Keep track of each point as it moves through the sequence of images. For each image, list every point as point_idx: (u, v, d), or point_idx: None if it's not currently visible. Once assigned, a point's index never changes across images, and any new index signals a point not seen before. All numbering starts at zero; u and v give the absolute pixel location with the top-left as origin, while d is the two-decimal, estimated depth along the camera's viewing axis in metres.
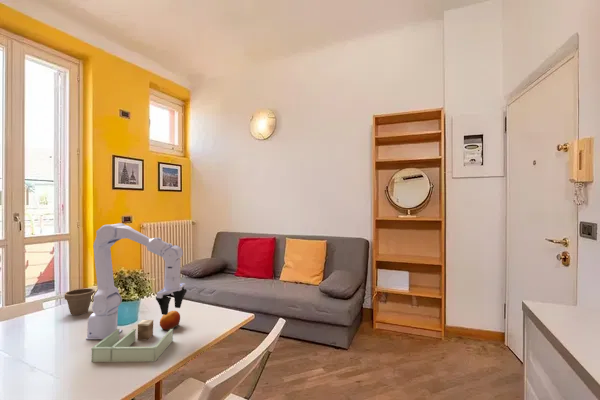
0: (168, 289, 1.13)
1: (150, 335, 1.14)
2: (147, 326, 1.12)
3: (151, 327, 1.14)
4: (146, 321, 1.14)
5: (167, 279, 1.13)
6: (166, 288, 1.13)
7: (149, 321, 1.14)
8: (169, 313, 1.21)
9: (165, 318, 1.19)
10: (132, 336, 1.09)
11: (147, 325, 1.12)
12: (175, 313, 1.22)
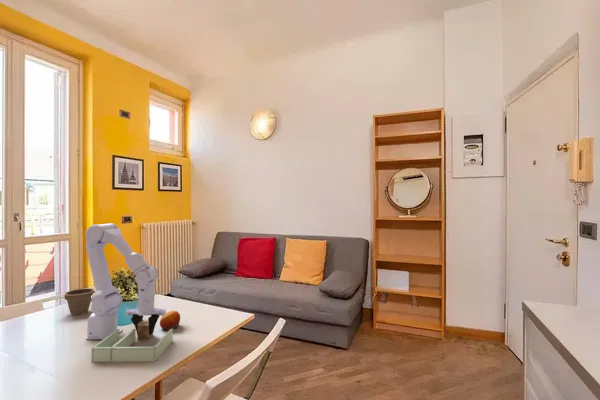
0: (137, 310, 1.13)
1: (150, 335, 1.14)
2: (146, 326, 1.12)
3: None
4: (146, 321, 1.14)
5: None
6: None
7: None
8: (169, 313, 1.21)
9: (165, 318, 1.19)
10: (132, 336, 1.09)
11: (147, 325, 1.12)
12: (175, 313, 1.22)
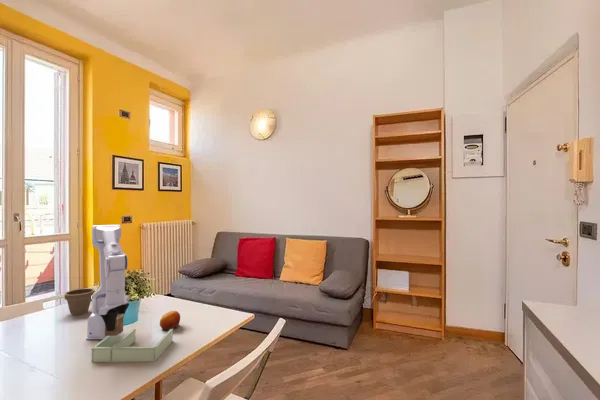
0: (112, 303, 1.00)
1: None
2: (122, 316, 1.04)
3: None
4: None
5: (110, 292, 1.00)
6: (109, 303, 1.00)
7: None
8: (169, 313, 1.21)
9: (165, 318, 1.19)
10: (132, 336, 1.09)
11: (123, 315, 1.04)
12: (175, 313, 1.22)
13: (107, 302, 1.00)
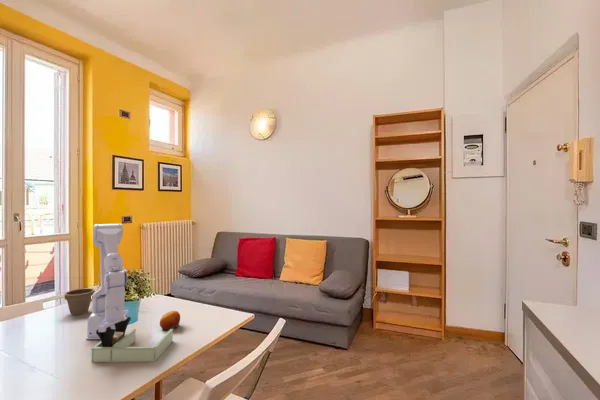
0: (111, 320, 1.00)
1: None
2: (122, 335, 1.04)
3: None
4: None
5: (110, 309, 1.00)
6: (108, 319, 1.00)
7: (114, 333, 1.04)
8: (169, 313, 1.21)
9: (165, 318, 1.19)
10: (132, 336, 1.09)
11: (122, 334, 1.04)
12: (175, 313, 1.22)
13: (106, 318, 1.00)
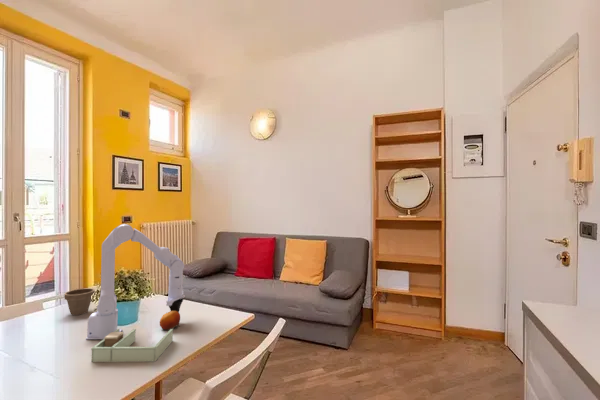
0: (174, 297, 1.26)
1: None
2: (122, 335, 1.04)
3: None
4: (112, 334, 1.03)
5: (173, 288, 1.26)
6: (172, 296, 1.26)
7: (114, 333, 1.04)
8: (169, 313, 1.21)
9: (165, 318, 1.19)
10: (132, 336, 1.09)
11: (122, 334, 1.04)
12: (175, 313, 1.22)
13: (170, 296, 1.26)
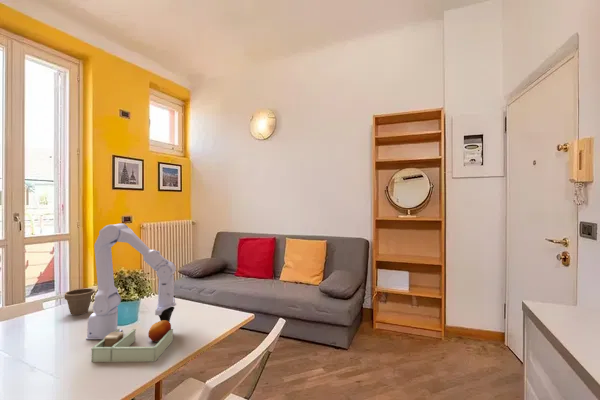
0: (164, 305, 1.15)
1: None
2: (122, 335, 1.04)
3: None
4: (112, 334, 1.03)
5: (163, 296, 1.15)
6: (162, 305, 1.15)
7: (114, 333, 1.04)
8: (159, 323, 1.11)
9: (154, 329, 1.09)
10: (132, 336, 1.09)
11: (122, 334, 1.04)
12: (165, 323, 1.12)
13: (160, 304, 1.15)
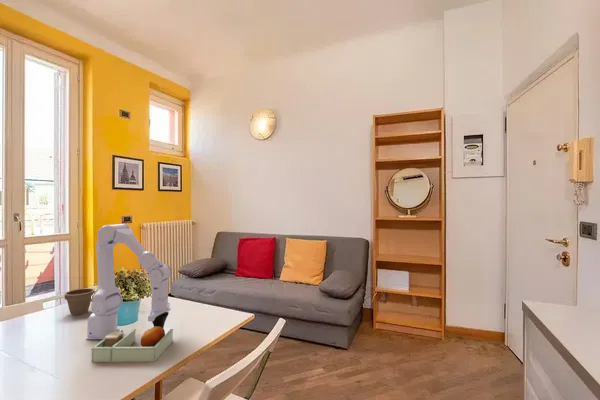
0: (158, 311, 1.09)
1: None
2: (122, 335, 1.04)
3: None
4: (112, 334, 1.03)
5: (156, 300, 1.09)
6: (155, 310, 1.09)
7: (114, 333, 1.04)
8: (152, 330, 1.05)
9: (147, 336, 1.03)
10: (132, 336, 1.09)
11: (122, 334, 1.04)
12: (159, 329, 1.06)
13: (153, 309, 1.10)
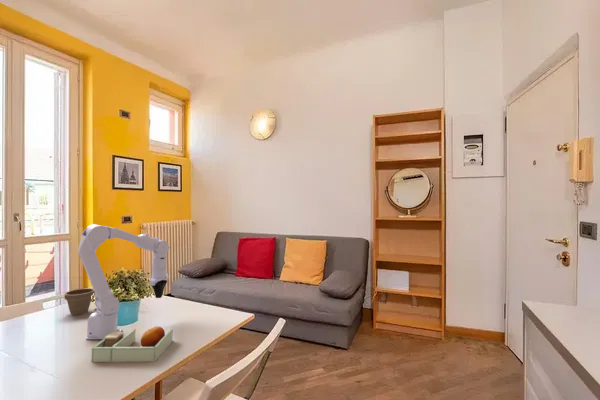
0: (157, 278, 1.27)
1: None
2: (122, 335, 1.04)
3: None
4: (112, 334, 1.03)
5: (156, 269, 1.27)
6: (155, 277, 1.27)
7: (114, 333, 1.04)
8: (152, 330, 1.05)
9: (147, 336, 1.03)
10: (132, 336, 1.09)
11: (122, 334, 1.04)
12: (159, 330, 1.06)
13: (154, 277, 1.27)
